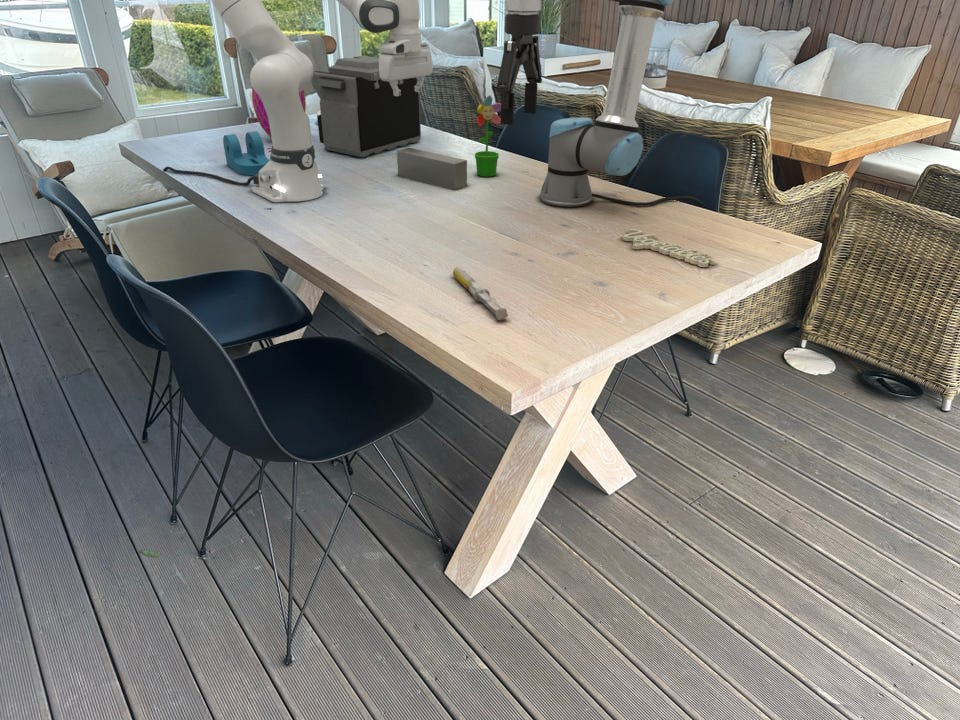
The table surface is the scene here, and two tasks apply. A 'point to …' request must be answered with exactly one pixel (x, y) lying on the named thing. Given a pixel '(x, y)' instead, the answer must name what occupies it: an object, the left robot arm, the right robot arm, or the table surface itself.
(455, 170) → the bar
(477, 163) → the potted flower
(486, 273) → the table surface
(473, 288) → the syringe
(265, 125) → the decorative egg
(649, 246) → the decorative sign
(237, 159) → the camera mount
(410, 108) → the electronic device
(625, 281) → the table surface
